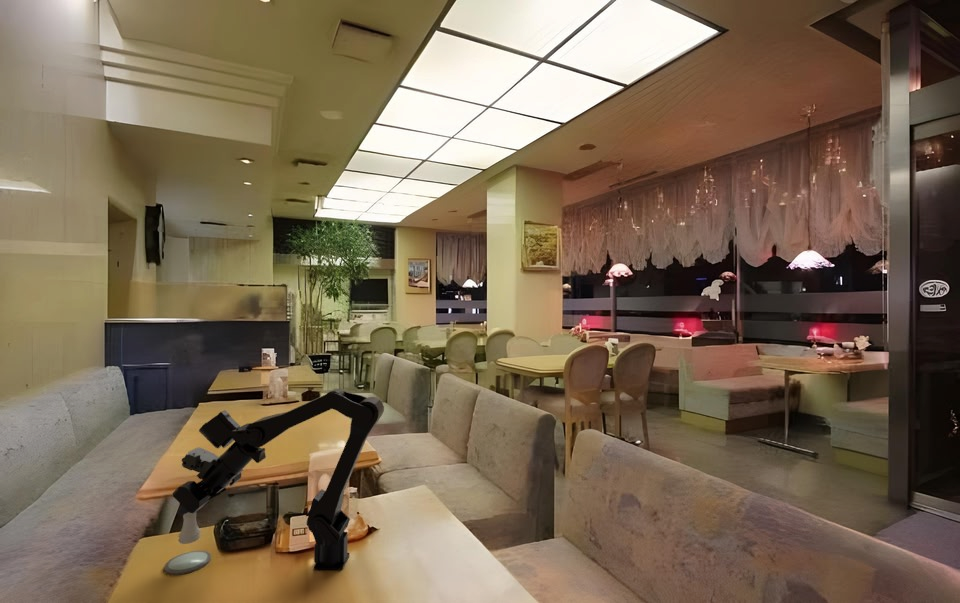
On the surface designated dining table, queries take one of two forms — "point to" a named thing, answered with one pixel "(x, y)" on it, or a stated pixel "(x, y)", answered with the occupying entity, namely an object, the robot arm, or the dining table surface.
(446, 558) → the dining table surface
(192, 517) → the rook chess piece
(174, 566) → the coaster
